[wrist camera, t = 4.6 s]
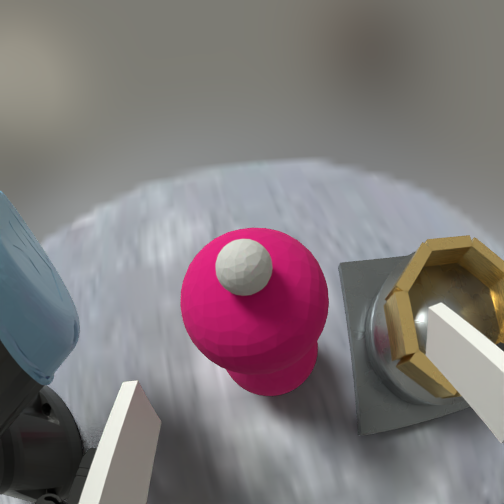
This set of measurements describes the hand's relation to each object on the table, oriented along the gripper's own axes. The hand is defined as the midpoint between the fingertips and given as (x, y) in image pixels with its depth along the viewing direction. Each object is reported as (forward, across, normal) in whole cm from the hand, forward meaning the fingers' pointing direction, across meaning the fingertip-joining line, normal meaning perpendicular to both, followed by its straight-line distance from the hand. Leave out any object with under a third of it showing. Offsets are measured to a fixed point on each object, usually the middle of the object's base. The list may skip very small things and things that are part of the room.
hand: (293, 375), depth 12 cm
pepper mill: (+13, -1, -8) cm, 15 cm away
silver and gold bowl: (+11, +14, -10) cm, 20 cm away
